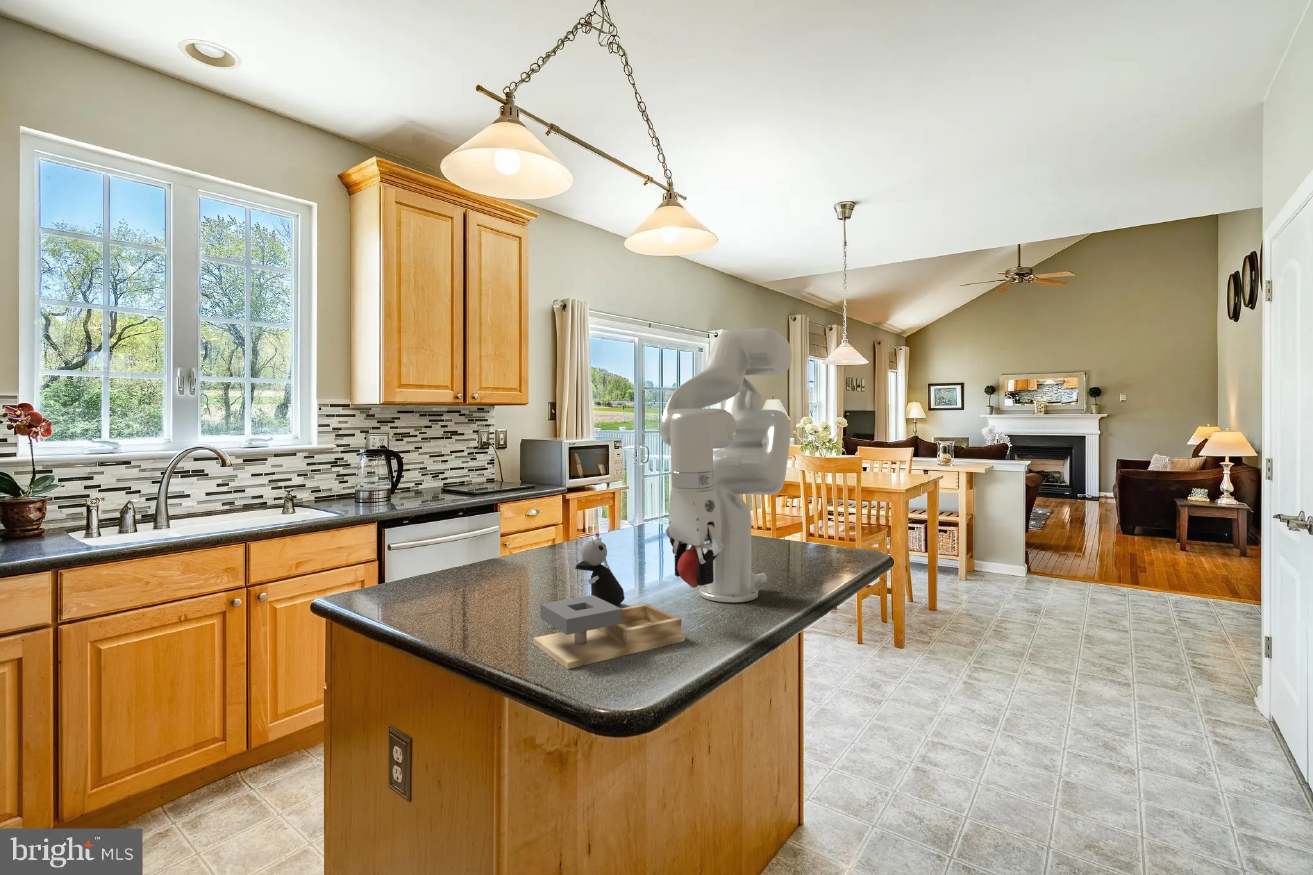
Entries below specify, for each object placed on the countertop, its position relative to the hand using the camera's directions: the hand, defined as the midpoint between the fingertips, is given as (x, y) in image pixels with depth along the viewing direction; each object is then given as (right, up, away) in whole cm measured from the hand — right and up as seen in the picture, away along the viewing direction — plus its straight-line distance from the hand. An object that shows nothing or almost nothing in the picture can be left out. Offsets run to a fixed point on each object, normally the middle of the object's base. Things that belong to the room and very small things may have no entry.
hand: (693, 578), depth 112 cm
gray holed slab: (-19, -5, -10) cm, 22 cm away
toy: (-18, -9, +11) cm, 23 cm away
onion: (0, -2, 0) cm, 2 cm away
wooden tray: (-15, -9, -7) cm, 19 cm away
